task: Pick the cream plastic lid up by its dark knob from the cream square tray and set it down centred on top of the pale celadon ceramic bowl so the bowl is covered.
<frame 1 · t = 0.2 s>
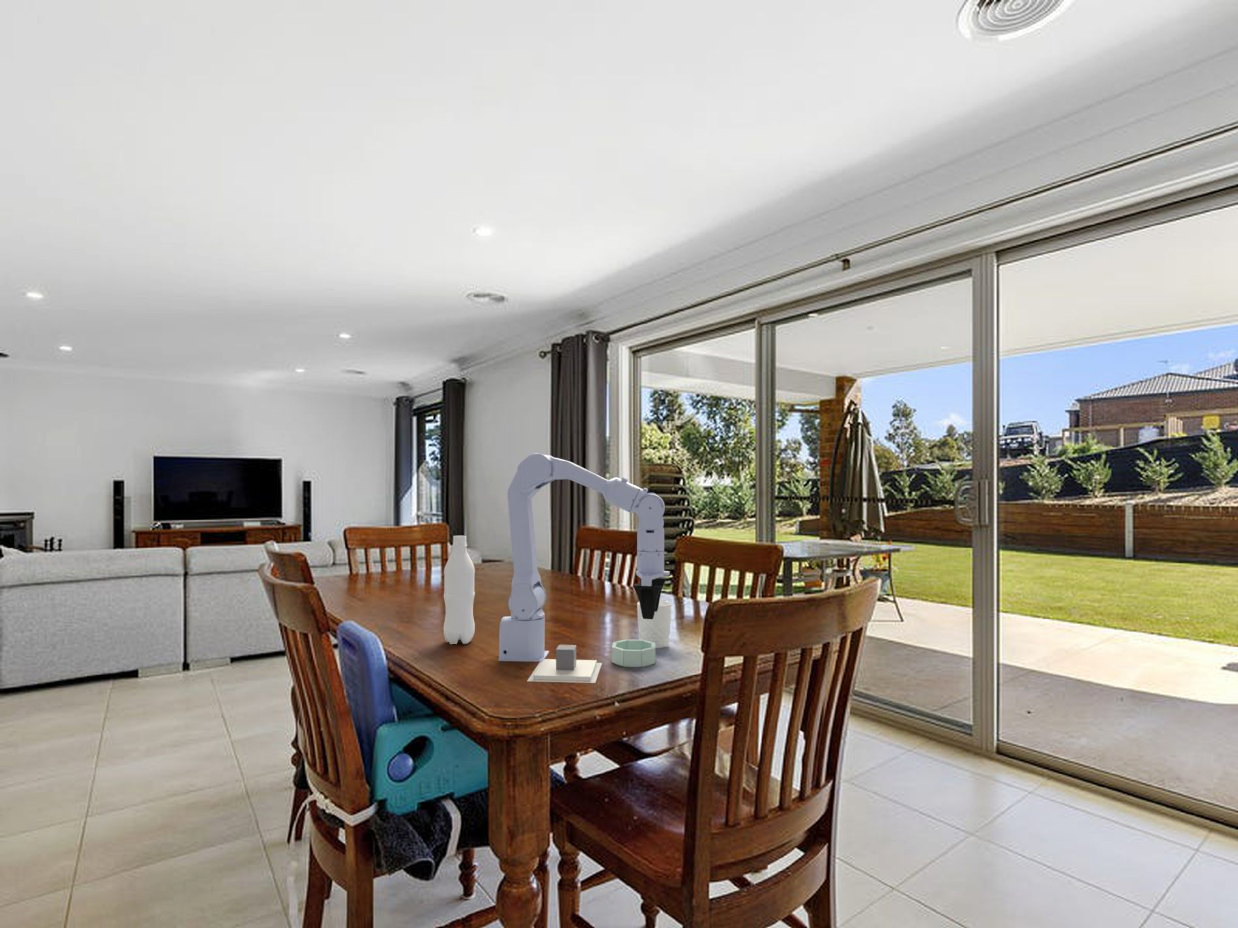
hand: (650, 614, 138), 10 cm above the table, tool pointing down, fingers open, 7 cm apart
white cup: (654, 647, 150), on the table
bowl: (633, 664, 136), on the table
water bottle: (459, 642, 153), on the table
lid: (566, 671, 129), resting on cream square tray
cream square tray: (566, 673, 129), on the table
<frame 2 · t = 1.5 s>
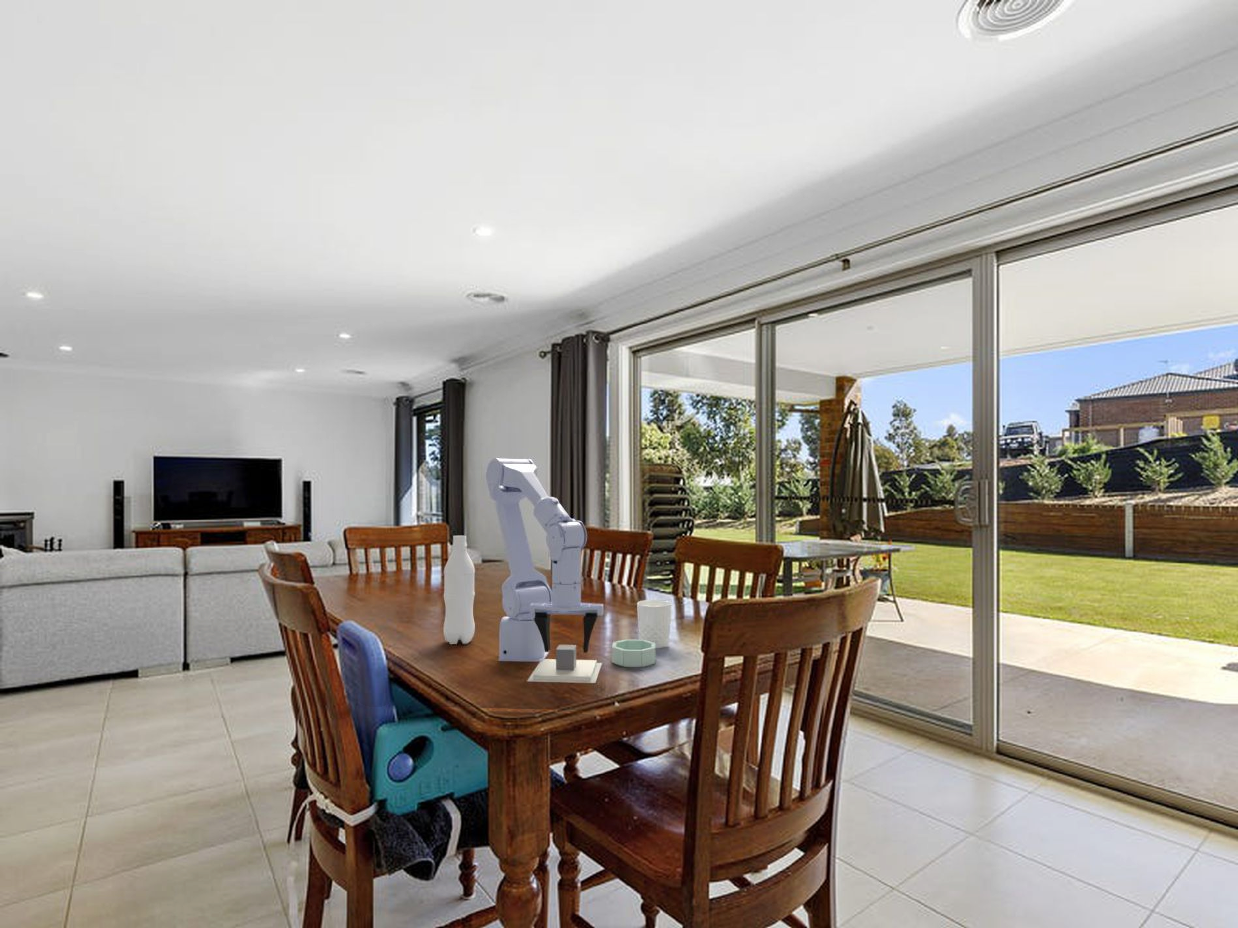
hand: (566, 651, 129), 5 cm above the table, tool pointing down, fingers open, 7 cm apart
nothing on the table moved.
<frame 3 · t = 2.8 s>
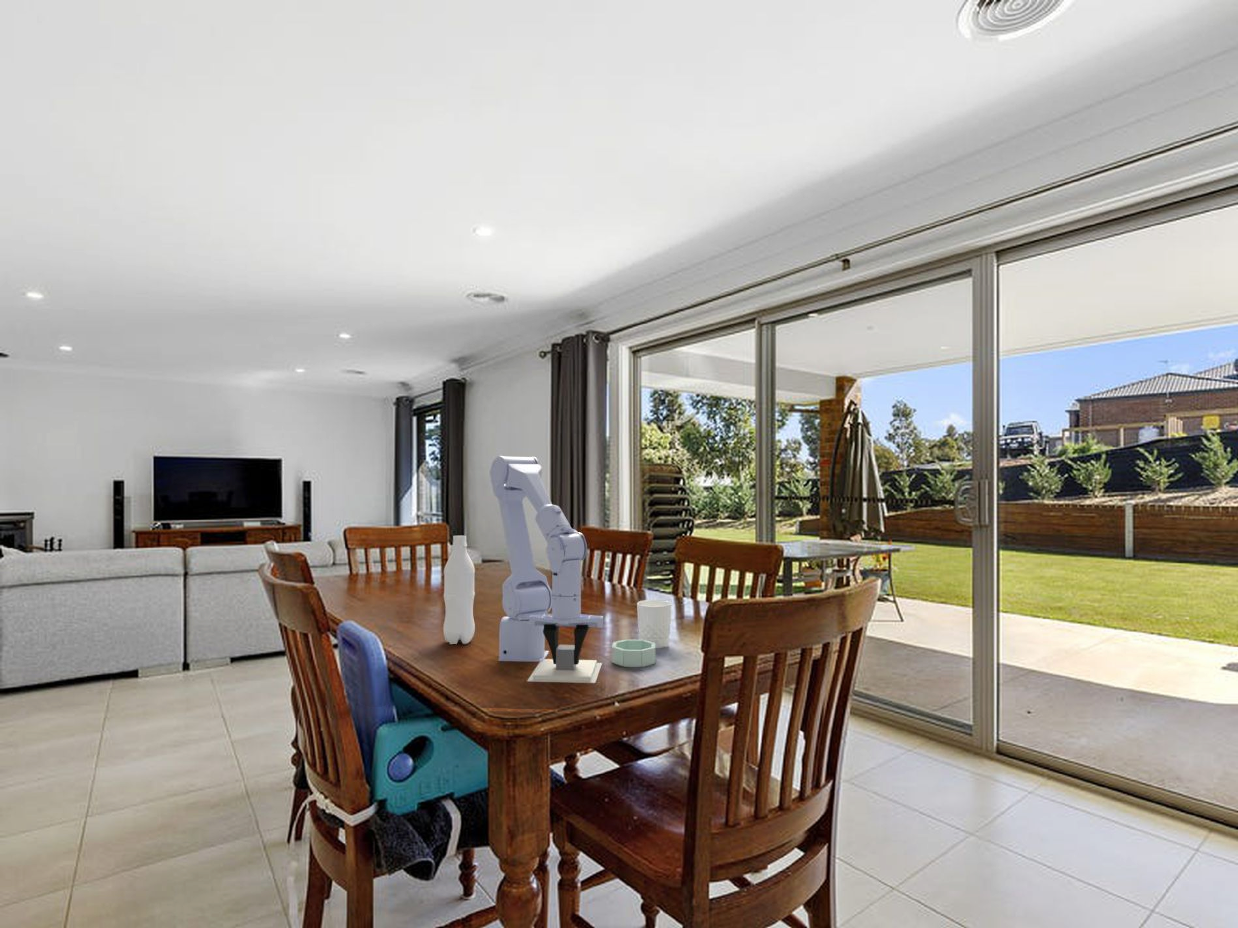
hand: (566, 662, 129), 2 cm above the table, tool pointing down, fingers closed on lid, 3 cm apart
lid: (566, 671, 129), resting on cream square tray, touching gripper
everything else where it was.
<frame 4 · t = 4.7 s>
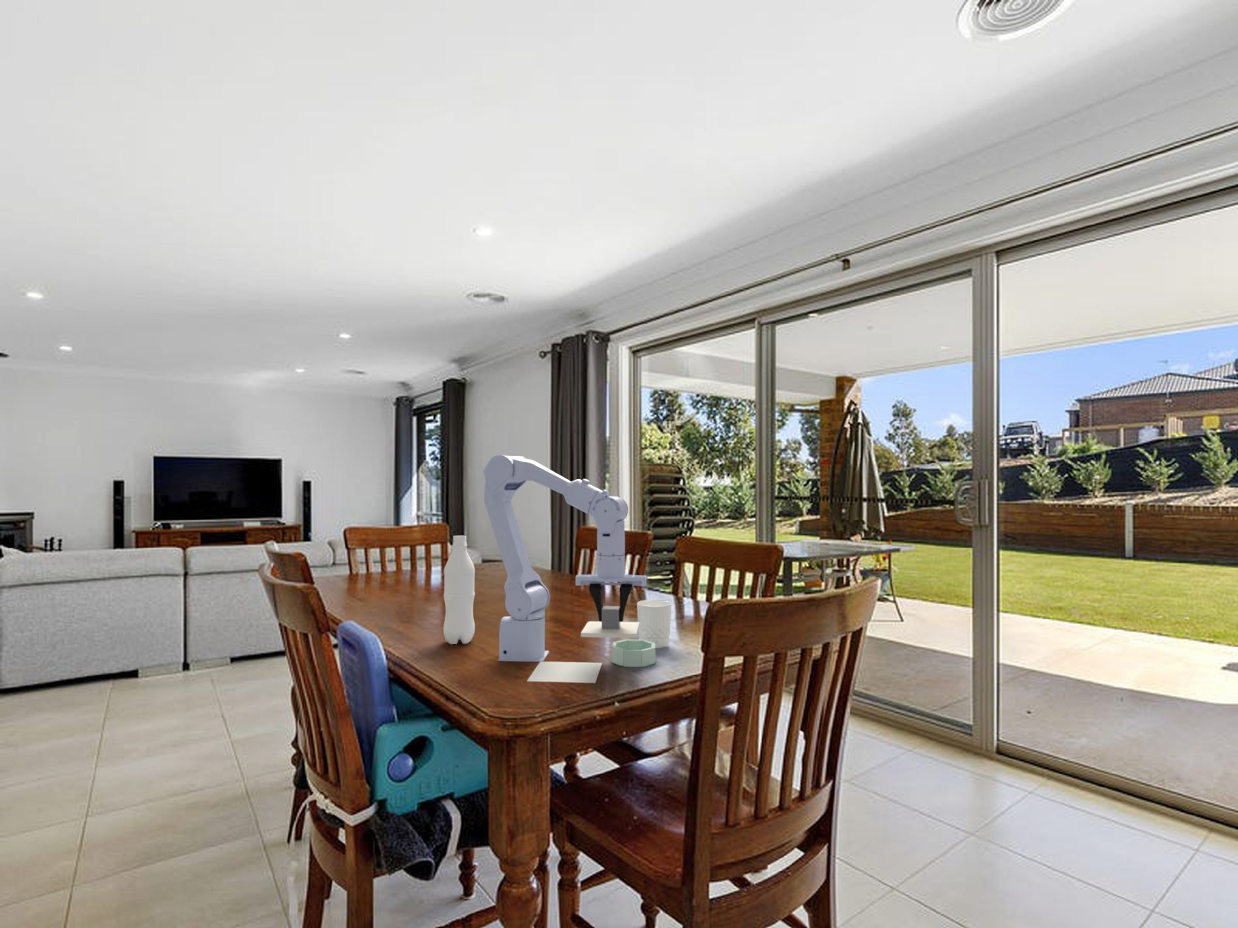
hand: (611, 620, 134), 9 cm above the table, tool pointing down, fingers closed on lid, 3 cm apart
lid: (611, 631, 134), point 7 cm above the table, touching gripper
everything else where it was.
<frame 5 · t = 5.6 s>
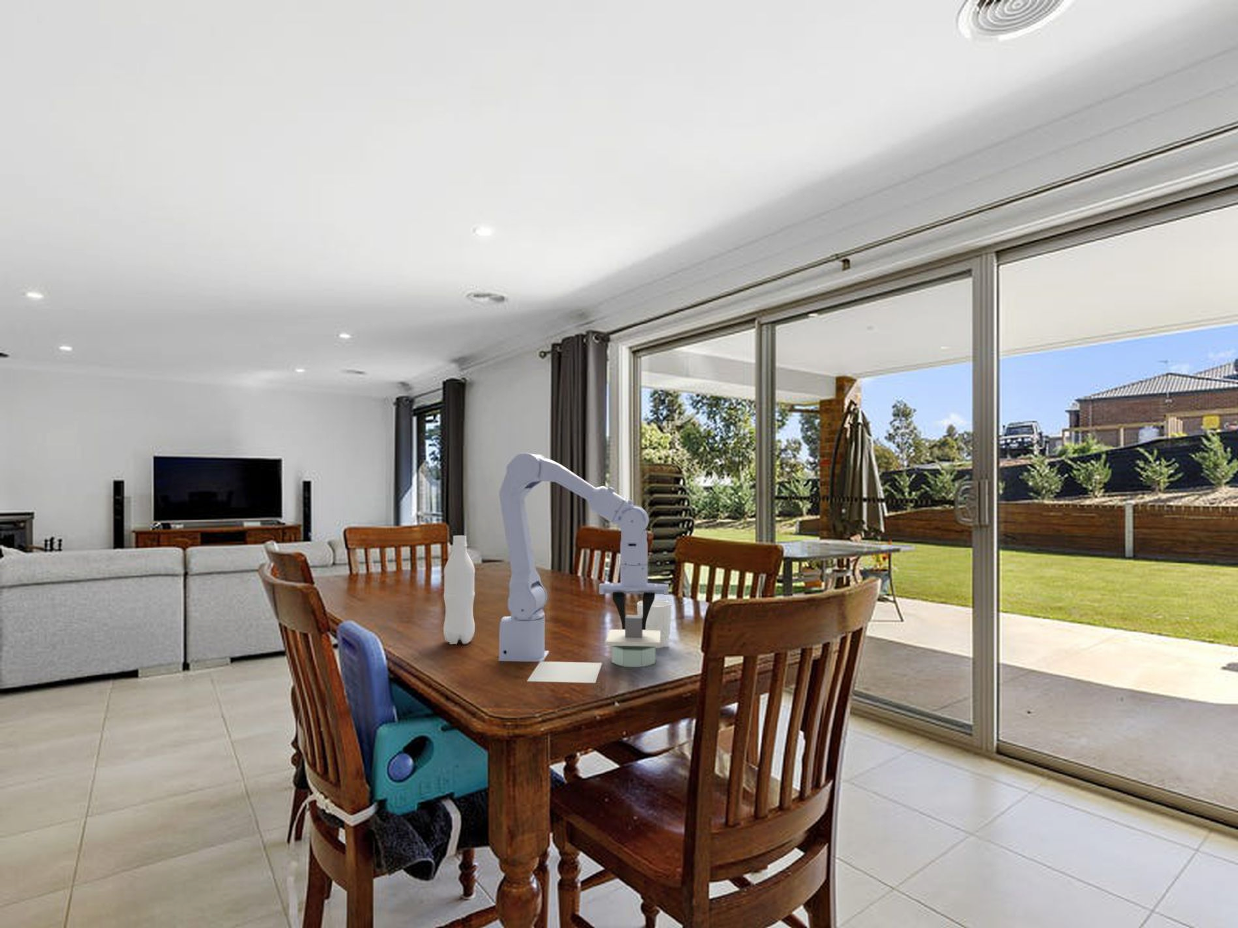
hand: (633, 628, 137), 7 cm above the table, tool pointing down, fingers closed on lid, 3 cm apart
lid: (633, 639, 136), point 5 cm above the table, touching gripper
everything else where it was.
when the fingers open (7 cm above the table, at t = 6.5 s): lid stays where it is, resting on bowl.
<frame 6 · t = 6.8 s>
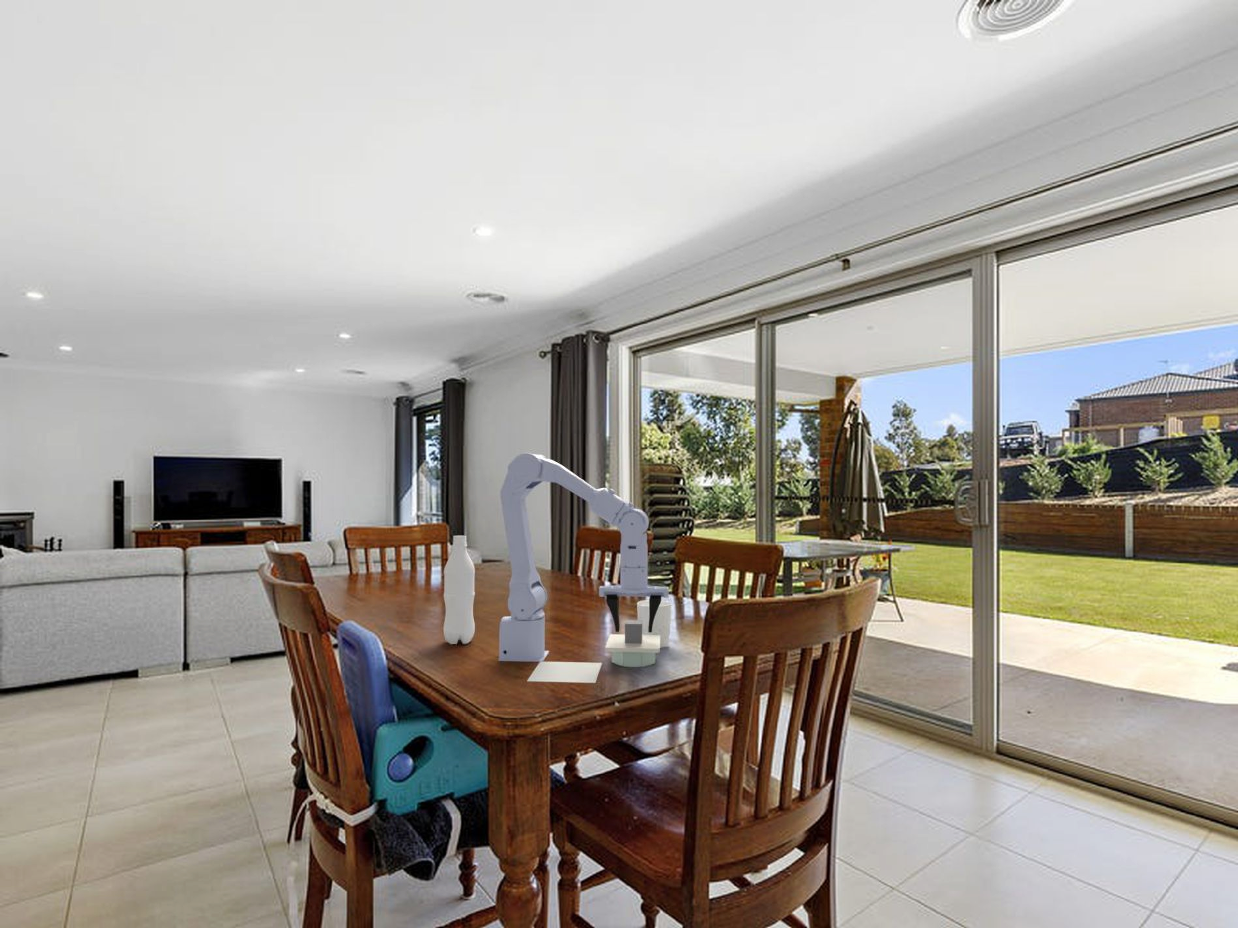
hand: (633, 631, 137), 7 cm above the table, tool pointing down, fingers open, 6 cm apart
bowl: (633, 663, 136), on the table, touching lid
lid: (633, 644, 136), point 4 cm above the table, touching bowl
everything else where it was.
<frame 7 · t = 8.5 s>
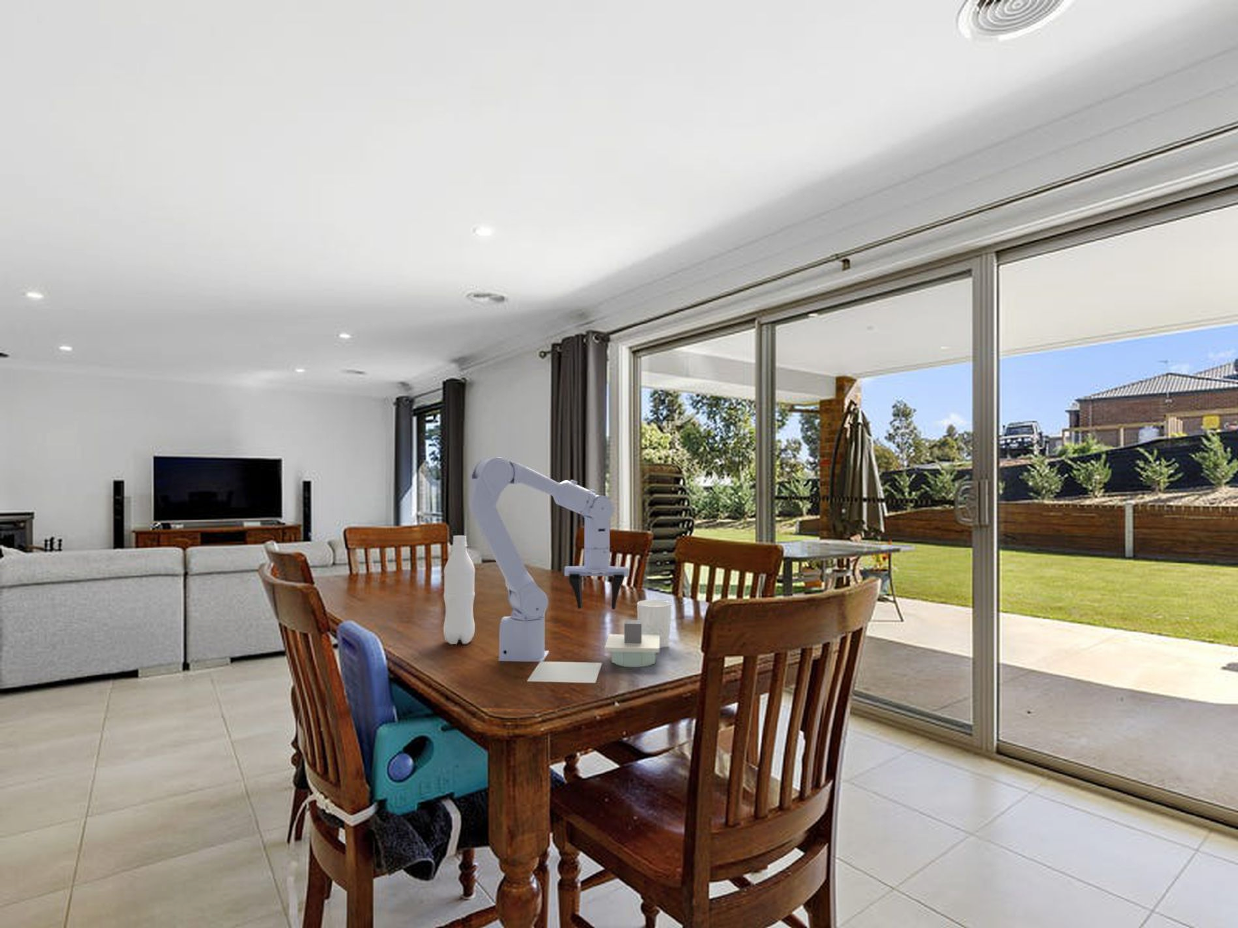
hand: (596, 608, 147), 9 cm above the table, tool pointing down, fingers open, 7 cm apart
nothing on the table moved.
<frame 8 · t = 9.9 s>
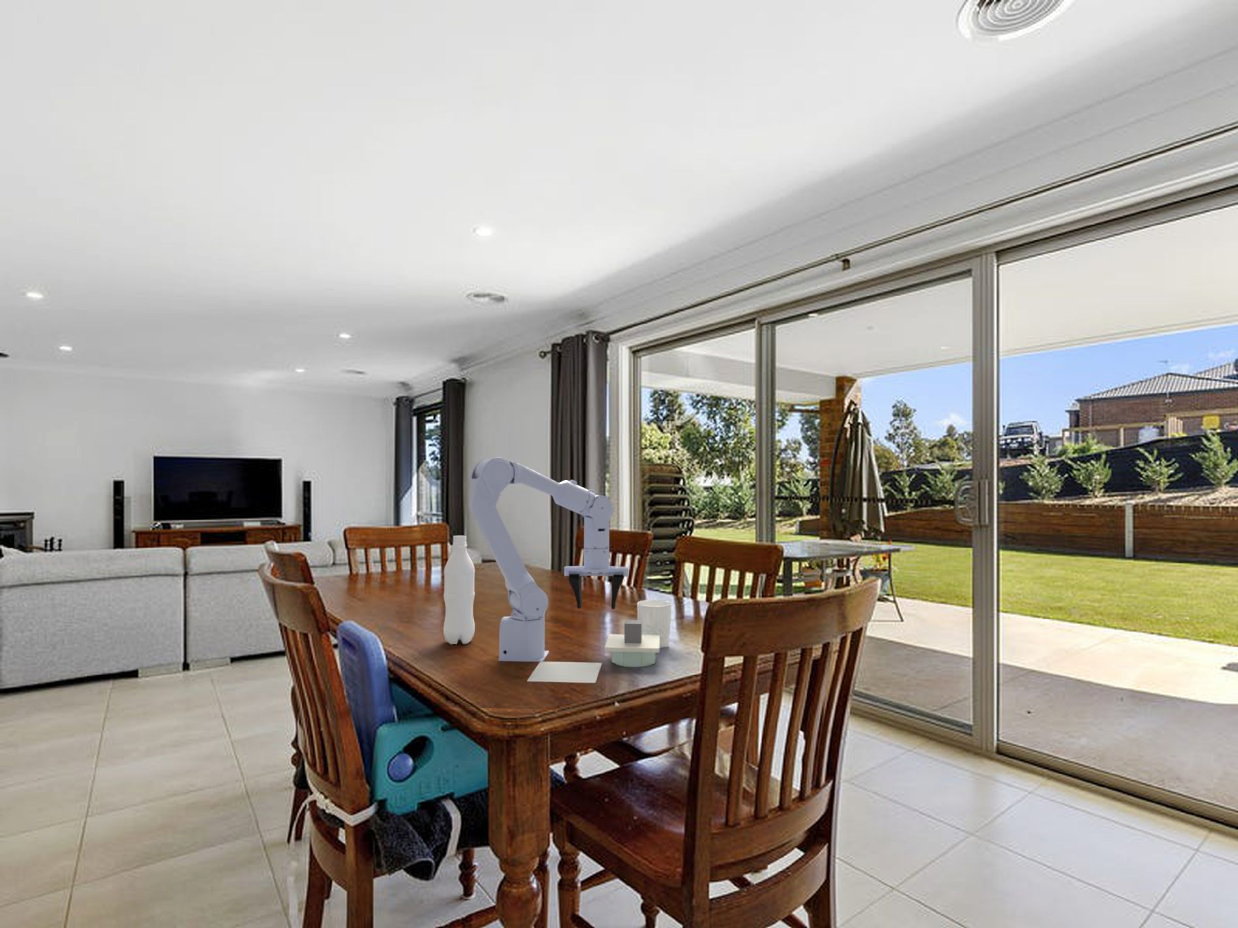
hand: (596, 607, 147), 9 cm above the table, tool pointing down, fingers open, 7 cm apart
nothing on the table moved.
at the end: lid 0.1 cm off-centre on the bowl, point 4.0 cm above the bowl's base; lid tilted 0°; the gripper is holding nothing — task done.
